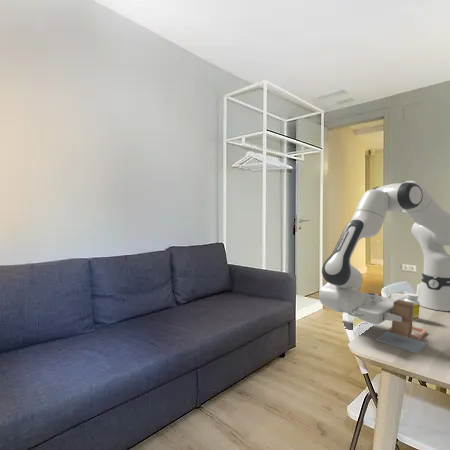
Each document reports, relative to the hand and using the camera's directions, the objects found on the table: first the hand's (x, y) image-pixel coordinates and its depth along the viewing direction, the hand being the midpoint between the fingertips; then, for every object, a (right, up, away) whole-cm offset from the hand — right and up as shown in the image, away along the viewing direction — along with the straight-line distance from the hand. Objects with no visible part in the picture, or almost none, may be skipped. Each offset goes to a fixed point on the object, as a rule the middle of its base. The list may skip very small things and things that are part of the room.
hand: (405, 317), depth 99 cm
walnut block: (-1, -5, +1) cm, 6 cm away
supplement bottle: (+16, -8, +24) cm, 29 cm away
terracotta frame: (+6, -8, +10) cm, 14 cm away
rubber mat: (-1, -9, +1) cm, 9 cm away
